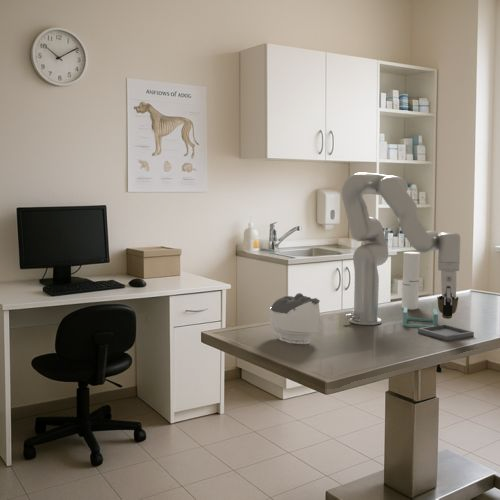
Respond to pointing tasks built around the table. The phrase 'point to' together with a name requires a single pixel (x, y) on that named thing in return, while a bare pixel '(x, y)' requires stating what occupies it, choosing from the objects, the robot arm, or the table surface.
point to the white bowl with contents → (295, 318)
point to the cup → (441, 303)
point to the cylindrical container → (410, 280)
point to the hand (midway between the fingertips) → (446, 313)
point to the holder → (419, 319)
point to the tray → (445, 332)
